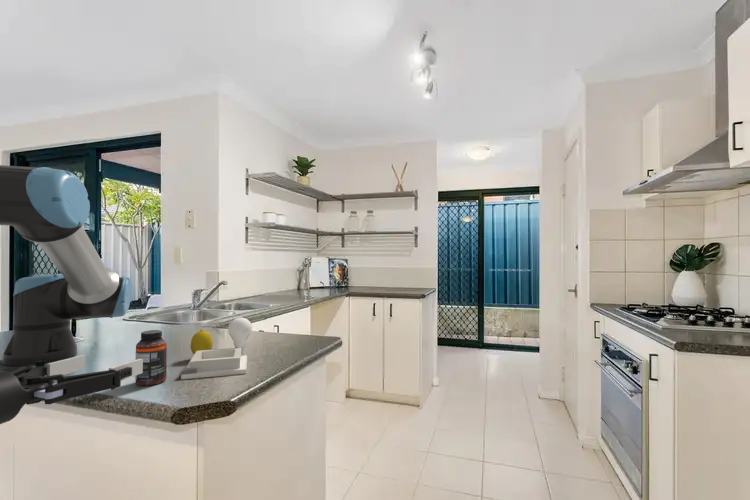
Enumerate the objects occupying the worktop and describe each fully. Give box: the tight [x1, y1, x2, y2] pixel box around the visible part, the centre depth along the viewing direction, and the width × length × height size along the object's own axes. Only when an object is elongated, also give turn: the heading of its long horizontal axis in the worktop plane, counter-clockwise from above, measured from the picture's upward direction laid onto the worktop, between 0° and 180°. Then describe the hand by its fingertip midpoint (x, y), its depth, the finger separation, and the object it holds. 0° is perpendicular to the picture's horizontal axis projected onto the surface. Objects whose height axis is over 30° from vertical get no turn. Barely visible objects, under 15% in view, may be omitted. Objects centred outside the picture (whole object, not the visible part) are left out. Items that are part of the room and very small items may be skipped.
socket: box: [180, 347, 248, 380], centre depth 91 cm, size 14×14×4 cm
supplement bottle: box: [134, 329, 168, 387], centre depth 81 cm, size 6×6×11 cm
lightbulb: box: [227, 317, 253, 356], centre depth 102 cm, size 6×6×11 cm
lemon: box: [190, 329, 214, 355], centre depth 100 cm, size 6×6×8 cm
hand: (111, 363), depth 71 cm, fingers open, 13 cm apart
